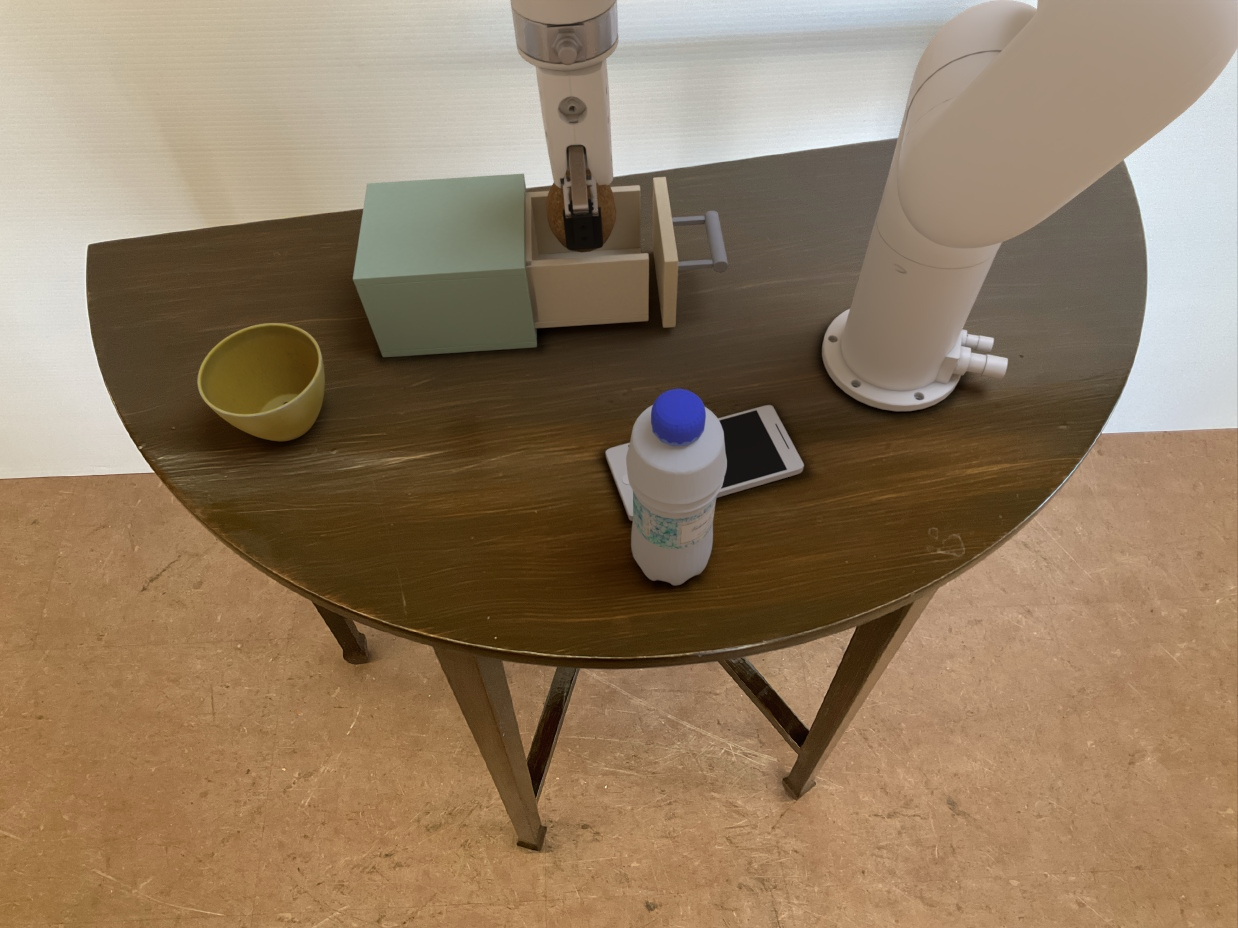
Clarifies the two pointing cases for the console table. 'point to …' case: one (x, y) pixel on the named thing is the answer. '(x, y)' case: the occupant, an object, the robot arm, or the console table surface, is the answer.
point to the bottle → (675, 485)
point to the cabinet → (445, 265)
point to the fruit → (557, 199)
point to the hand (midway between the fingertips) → (583, 219)
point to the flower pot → (265, 380)
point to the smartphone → (734, 454)
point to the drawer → (611, 263)
